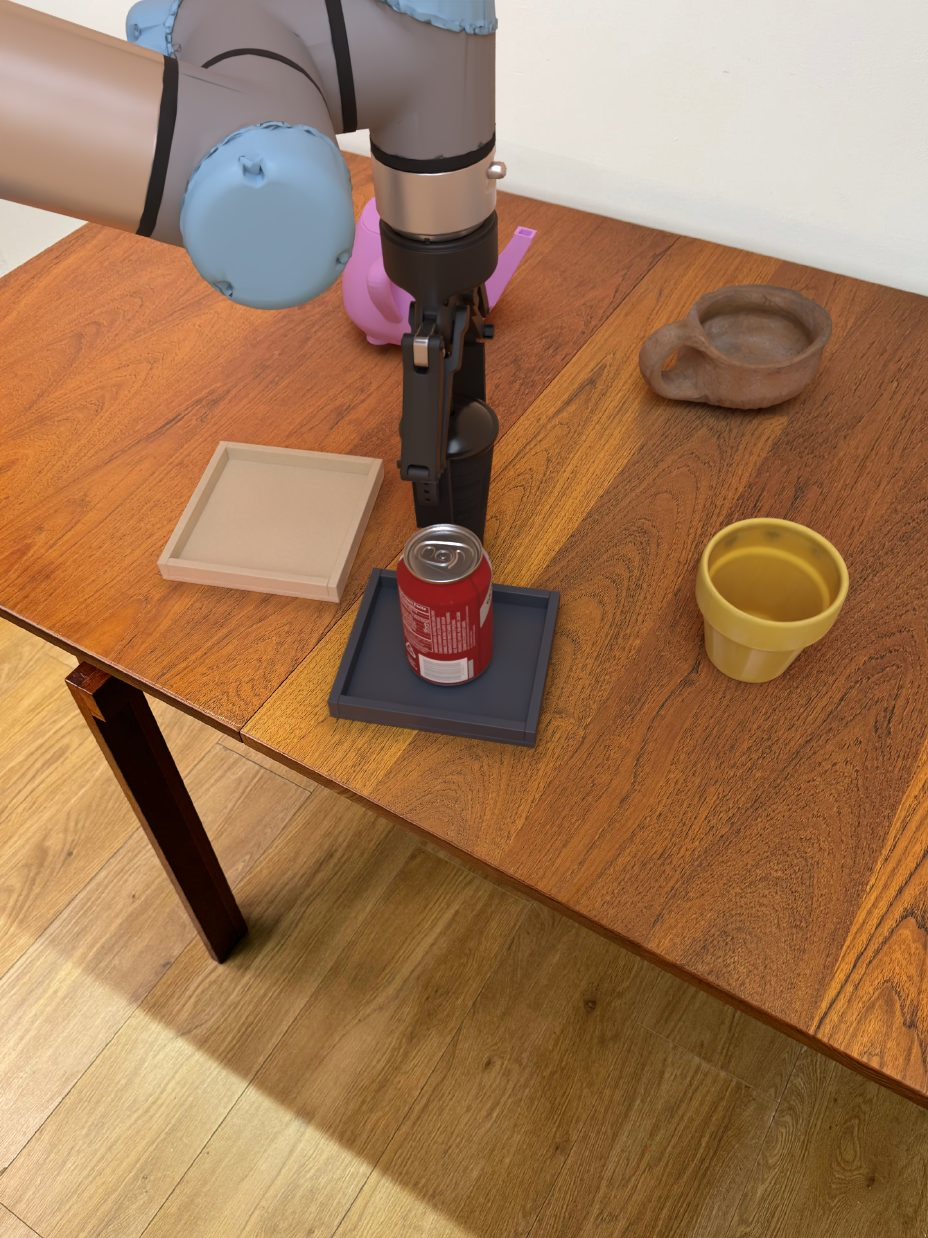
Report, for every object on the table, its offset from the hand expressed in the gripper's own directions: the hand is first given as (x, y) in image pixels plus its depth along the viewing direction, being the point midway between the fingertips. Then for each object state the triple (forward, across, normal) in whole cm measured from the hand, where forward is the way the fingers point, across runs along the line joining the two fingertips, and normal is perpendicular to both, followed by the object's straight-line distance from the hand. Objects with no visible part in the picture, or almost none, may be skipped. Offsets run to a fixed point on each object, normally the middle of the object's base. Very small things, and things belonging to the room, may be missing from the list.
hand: (453, 465), depth 79 cm
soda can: (+9, -12, -2) cm, 15 cm away
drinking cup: (+10, 0, 0) cm, 10 cm away
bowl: (+10, +25, -22) cm, 34 cm away
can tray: (+9, -12, -2) cm, 15 cm away
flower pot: (+10, -7, -25) cm, 28 cm away
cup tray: (+9, 0, +16) cm, 19 cm away
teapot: (+10, +30, +8) cm, 33 cm away
